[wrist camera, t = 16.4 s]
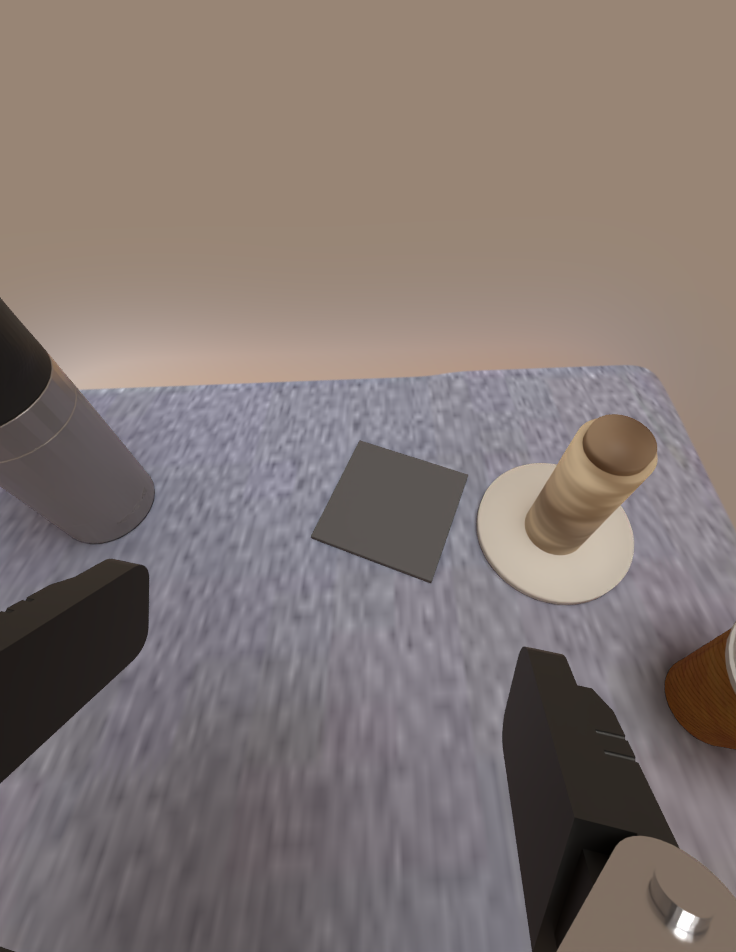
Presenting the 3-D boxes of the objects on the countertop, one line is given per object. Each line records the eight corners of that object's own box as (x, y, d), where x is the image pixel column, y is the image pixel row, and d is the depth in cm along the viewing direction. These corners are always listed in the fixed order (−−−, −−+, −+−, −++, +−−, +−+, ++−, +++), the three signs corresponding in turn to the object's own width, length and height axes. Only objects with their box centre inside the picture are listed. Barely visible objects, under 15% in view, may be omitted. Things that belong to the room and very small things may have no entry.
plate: (458, 571, 42) (460, 566, 41) (496, 453, 49) (498, 446, 48) (618, 629, 39) (624, 626, 38) (635, 495, 46) (641, 489, 45)
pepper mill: (518, 542, 42) (573, 459, 30) (531, 494, 45) (587, 399, 33) (579, 564, 41) (661, 486, 29) (588, 513, 43) (668, 422, 31)
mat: (311, 538, 44) (311, 536, 44) (359, 443, 50) (359, 440, 49) (431, 583, 41) (431, 581, 41) (467, 477, 47) (468, 474, 47)
